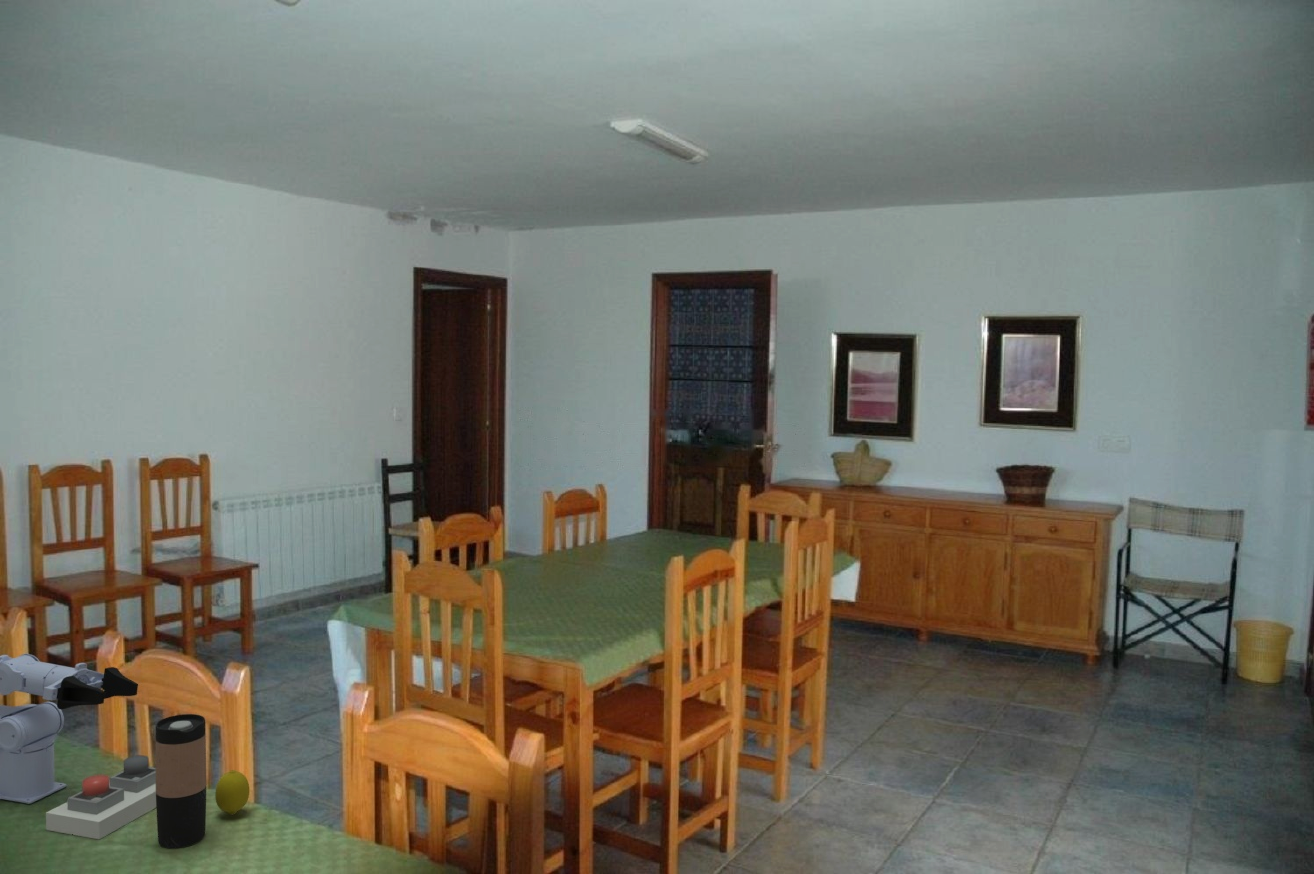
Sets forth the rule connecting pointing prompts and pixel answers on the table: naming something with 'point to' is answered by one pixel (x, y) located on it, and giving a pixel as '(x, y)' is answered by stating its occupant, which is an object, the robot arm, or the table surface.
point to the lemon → (232, 792)
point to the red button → (95, 785)
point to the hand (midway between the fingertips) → (119, 693)
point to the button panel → (106, 806)
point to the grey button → (136, 765)
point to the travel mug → (181, 780)
